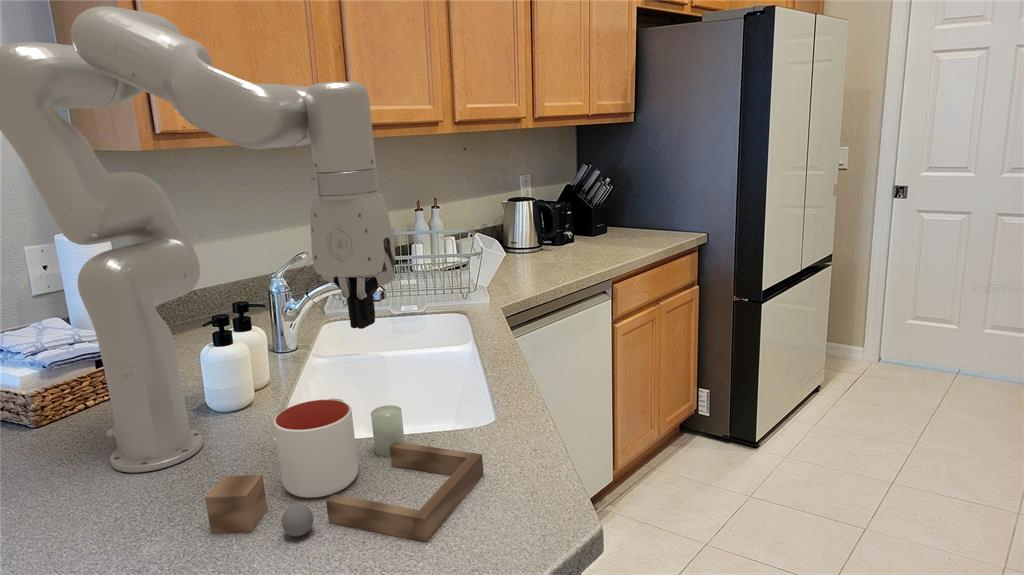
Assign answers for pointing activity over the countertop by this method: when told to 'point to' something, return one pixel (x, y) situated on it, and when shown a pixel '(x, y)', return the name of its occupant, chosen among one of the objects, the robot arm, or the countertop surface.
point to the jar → (386, 428)
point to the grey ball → (297, 520)
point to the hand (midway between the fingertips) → (363, 325)
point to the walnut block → (236, 504)
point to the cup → (316, 447)
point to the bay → (408, 520)
